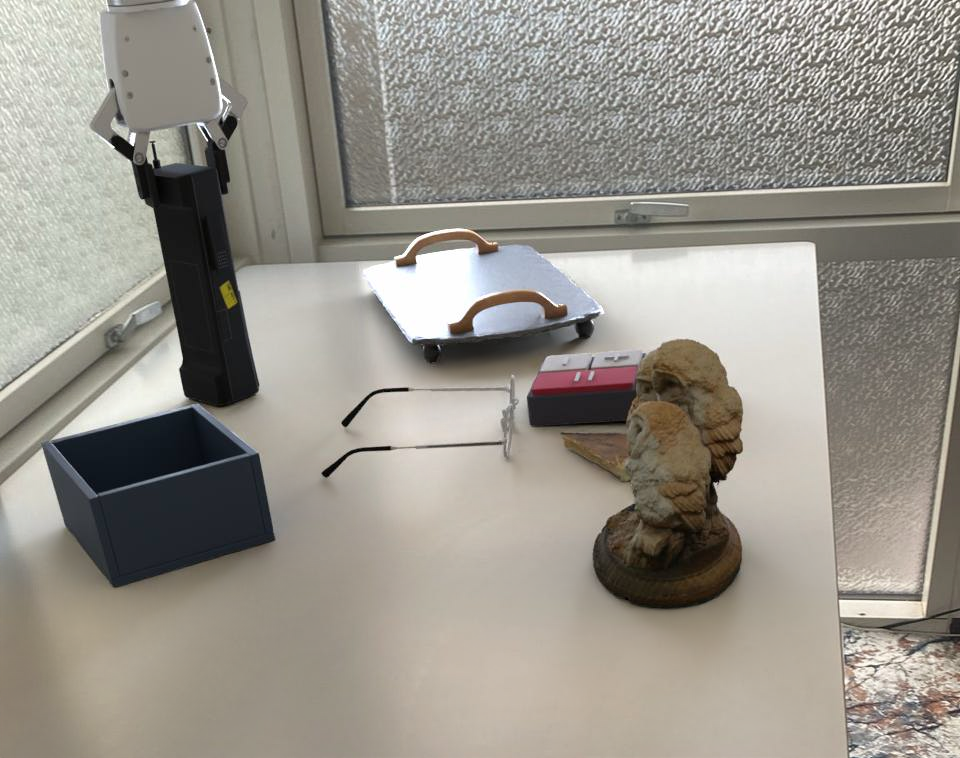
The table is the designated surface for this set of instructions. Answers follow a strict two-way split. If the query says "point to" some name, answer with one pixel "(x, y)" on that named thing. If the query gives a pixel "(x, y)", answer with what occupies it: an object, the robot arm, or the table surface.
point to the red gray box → (584, 388)
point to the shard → (601, 450)
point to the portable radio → (203, 285)
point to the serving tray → (477, 293)
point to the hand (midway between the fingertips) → (186, 197)
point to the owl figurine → (675, 483)
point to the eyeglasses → (507, 415)
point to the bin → (159, 493)
